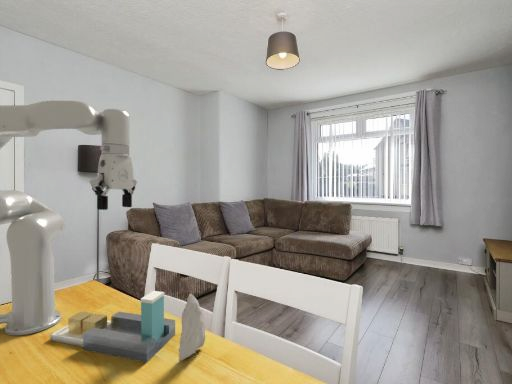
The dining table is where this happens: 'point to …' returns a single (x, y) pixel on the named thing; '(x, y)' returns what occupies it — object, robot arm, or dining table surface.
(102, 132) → the robot arm
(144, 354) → the slot board
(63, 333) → the tray
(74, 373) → the dining table surface
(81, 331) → the chip
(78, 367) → the dining table surface
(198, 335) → the stone tool
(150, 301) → the teal rectangular block
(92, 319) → the gold cube
